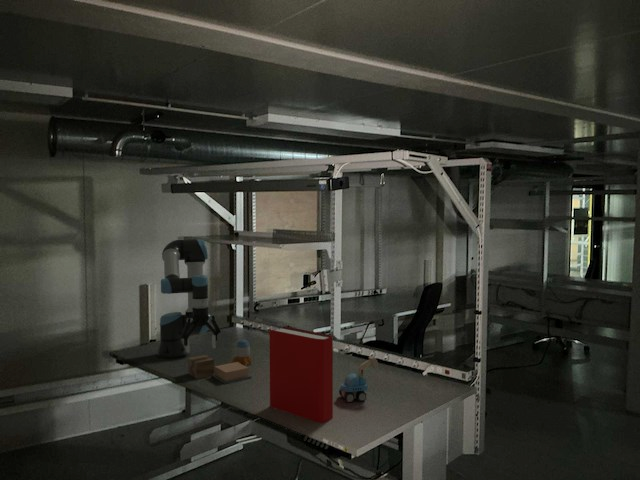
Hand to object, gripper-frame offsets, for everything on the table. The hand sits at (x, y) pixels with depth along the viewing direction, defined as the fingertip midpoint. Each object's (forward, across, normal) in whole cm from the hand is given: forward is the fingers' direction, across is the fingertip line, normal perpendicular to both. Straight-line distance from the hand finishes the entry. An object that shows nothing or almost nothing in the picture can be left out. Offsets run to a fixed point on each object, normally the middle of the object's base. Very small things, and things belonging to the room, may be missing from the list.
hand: (200, 349), depth 248 cm
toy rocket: (+12, +22, 0) cm, 25 cm away
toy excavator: (+13, +41, -70) cm, 83 cm away
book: (+13, +13, -68) cm, 70 cm away
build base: (+12, +10, -12) cm, 20 cm away
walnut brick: (+12, 0, 0) cm, 12 cm away
